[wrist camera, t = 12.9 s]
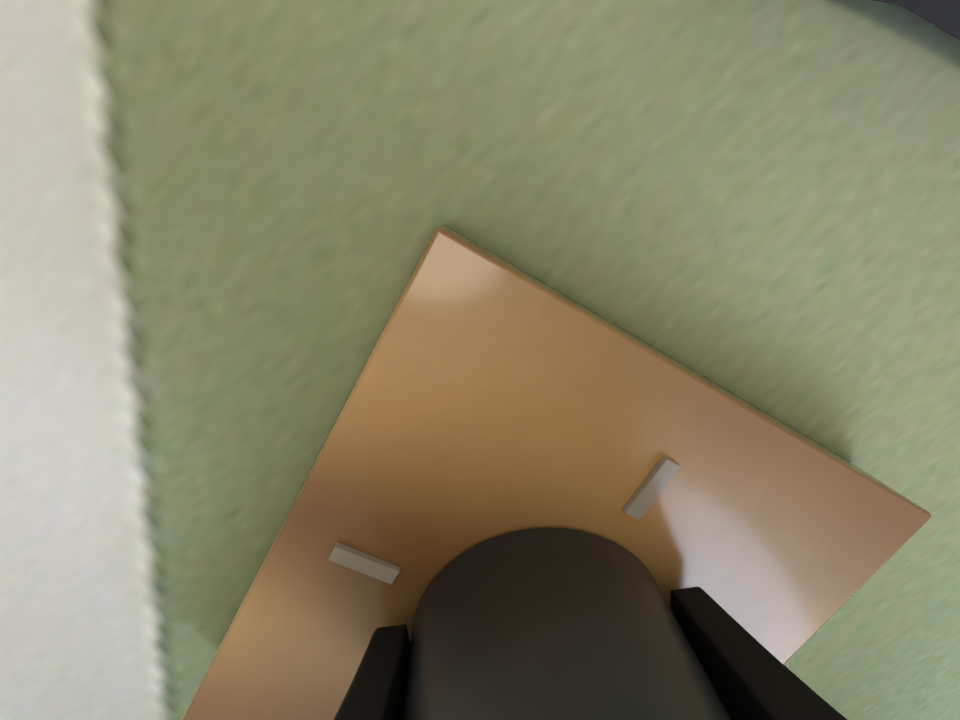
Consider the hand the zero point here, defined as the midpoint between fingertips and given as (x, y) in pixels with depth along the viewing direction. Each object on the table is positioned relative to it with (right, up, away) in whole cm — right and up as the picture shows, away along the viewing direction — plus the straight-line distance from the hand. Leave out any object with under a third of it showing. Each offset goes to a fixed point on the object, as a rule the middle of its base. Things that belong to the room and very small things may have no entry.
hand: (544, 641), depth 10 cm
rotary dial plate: (0, +1, +2) cm, 2 cm away
